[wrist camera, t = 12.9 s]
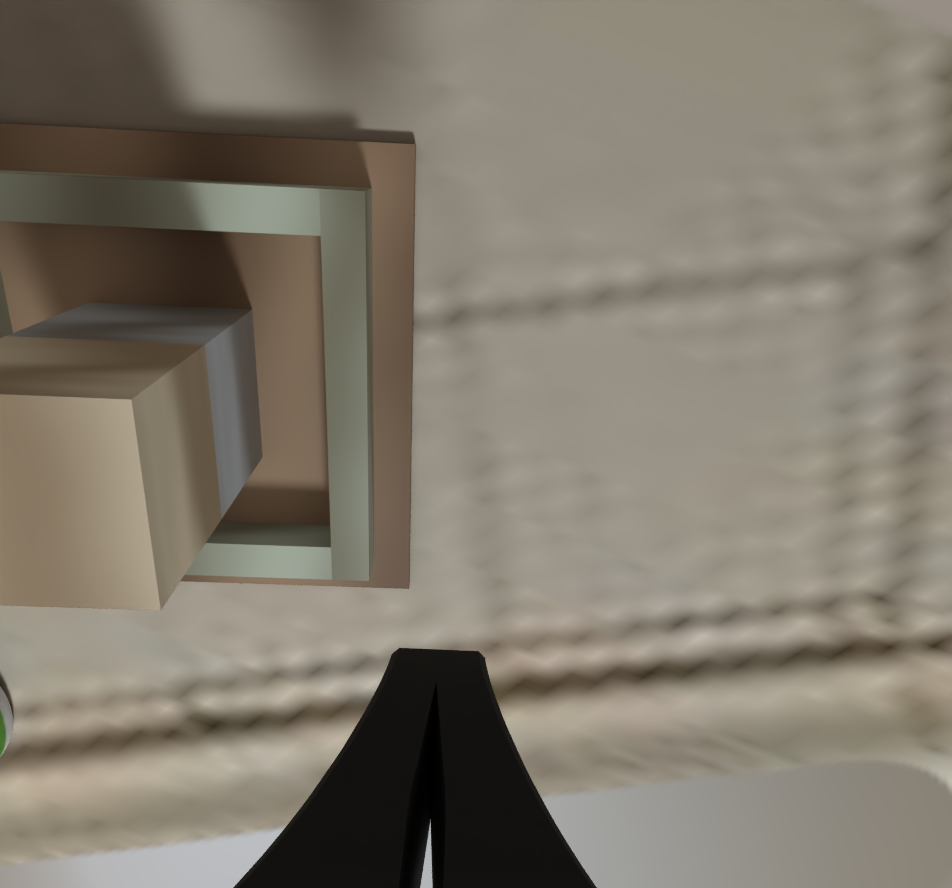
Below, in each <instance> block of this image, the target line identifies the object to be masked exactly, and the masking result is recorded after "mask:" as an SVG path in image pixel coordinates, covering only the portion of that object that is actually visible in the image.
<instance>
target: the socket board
mask: <svg viewBox="0 0 952 888" xmlns="http://www.w3.org/2000/svg"><path fill="white" fill-rule="evenodd" d="M415 159H416V144H400V143H381V142H361V141H341V140H321V139H302V138H282V137H262V136H242V135H223V134H203V133H183V132H163V131H144V130H124V129H104V128H84V127H65V126H45V125H25V124H5V123H0V338H2V337H4V336H7V335H9V334H12V333H14V332H17V331H19V330H22V329H24V328H27V327H29V326H32V325H34V324H37V323H39V322H42V321H44V320H47V319H49V318H52V317H54V316H57V315H59V314H61V313H64V312H66V311H69V310H71V309H74V308H76V307H79V306H81V305H84V304H86V303H89V302H95V303H117V304H140V305H162V306H185V307H207V308H230V309H252V311H253V325H254V340H255V354H256V369H257V383H258V397H259V412H260V426H261V441H262V455H263V457H262V459H261V460H260V462H259V463H258V465H257V466H256V468H255V469H254V471H253V472H252V474H251V475H250V477H249V479H248V480H247V482H246V483H245V485H244V486H243V488H242V489H241V491H240V492H239V494H238V495H237V497H236V498H235V500H234V501H233V503H232V504H231V506H230V507H229V509H228V510H227V512H226V513H225V515H224V516H223V518H222V519H221V521H220V522H219V524H218V525H217V527H216V528H215V530H214V531H213V533H212V534H211V536H210V537H209V539H208V540H207V542H206V543H205V545H204V546H203V548H202V549H201V551H200V552H199V554H198V555H197V557H196V558H195V560H194V561H193V563H192V564H191V566H190V567H189V569H188V570H187V572H186V573H185V575H184V576H183V578H182V579H181V581H193V582H223V583H253V584H283V585H313V586H343V587H374V588H404V589H409V582H410V512H411V441H412V371H413V300H414V230H415Z"/></svg>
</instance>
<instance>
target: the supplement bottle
mask: <svg viewBox="0 0 952 888" xmlns="http://www.w3.org/2000/svg"><path fill="white" fill-rule="evenodd" d="M12 730H13V715H12V710H11V706H10V703H9V701H8V698H7V696H6V694H5V692H4V691H3V689H2V688H1V686H0V757H1V755H2V754H3V752H4V751H5V749H6V748H7V746H8V744H9V741H10V738H11V735H12Z"/></svg>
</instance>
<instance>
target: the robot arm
mask: <svg viewBox="0 0 952 888" xmlns="http://www.w3.org/2000/svg"><path fill="white" fill-rule="evenodd" d="M430 819H431V846H432V879H433V888H597V887H596V886H595V885H594V883H593V882H592V880H591V879H590V877H589V876H588V874H587V873H586V872H585V870H584V869H583V867H582V866H581V864H580V863H579V861H578V859H577V858H576V856H575V855H574V853H573V852H572V850H571V848H570V847H569V845H568V844H567V842H566V840H565V839H564V837H563V835H562V834H561V832H560V830H559V829H558V827H557V826H556V824H555V822H554V820H553V819H552V817H551V815H550V813H549V811H548V810H547V808H546V806H545V804H544V802H543V800H542V799H541V797H540V795H539V793H538V791H537V789H536V787H535V786H534V784H533V782H532V780H531V778H530V776H529V774H528V772H527V770H526V768H525V766H524V764H523V762H522V759H521V757H520V755H519V753H518V751H517V748H516V746H515V744H514V742H513V740H512V737H511V735H510V733H509V731H508V729H507V726H506V724H505V721H504V719H503V716H502V714H501V711H500V708H499V706H498V703H497V700H496V698H495V695H494V692H493V689H492V686H491V682H490V679H489V675H488V671H487V667H486V662H485V658H484V657H483V656H482V654H481V653H480V652H479V651H458V650H434V649H410V648H399V649H398V650H396V651H395V652H394V653H393V654H392V655H391V658H390V661H389V664H388V666H387V669H386V671H385V673H384V676H383V678H382V680H381V682H380V684H379V686H378V688H377V690H376V692H375V694H374V696H373V698H372V699H371V701H370V703H369V705H368V707H367V709H366V711H365V712H364V714H363V716H362V717H361V719H360V721H359V722H358V724H357V726H356V727H355V729H354V731H353V732H352V734H351V735H350V737H349V739H348V740H347V742H346V744H345V745H344V747H343V749H342V750H341V752H340V753H339V755H338V756H337V758H336V759H335V761H334V762H333V763H332V765H331V766H330V768H329V769H328V771H327V772H326V773H325V775H324V776H323V778H322V779H321V781H320V782H319V784H318V785H317V786H316V788H315V789H314V791H313V792H312V794H311V795H310V796H309V798H308V799H307V800H306V802H305V803H304V804H303V806H302V807H301V808H300V810H299V811H298V812H297V814H296V815H295V816H294V817H293V819H292V820H291V821H290V823H289V824H288V825H287V826H286V828H285V829H284V830H283V831H282V833H281V834H280V835H279V836H278V837H277V839H276V840H275V841H274V842H273V843H272V845H271V846H270V847H269V848H268V849H267V851H266V852H265V853H264V854H263V855H262V857H261V858H260V859H259V860H258V861H257V862H256V863H255V864H254V865H253V867H252V868H251V869H250V870H249V871H248V872H247V873H246V874H245V875H244V877H243V878H242V879H241V880H240V881H239V882H238V883H237V884H236V885H235V887H234V888H420V885H421V878H422V872H423V864H424V858H425V852H426V845H427V838H428V831H429V825H430Z"/></svg>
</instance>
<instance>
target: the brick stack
mask: <svg viewBox="0 0 952 888" xmlns="http://www.w3.org/2000/svg"><path fill="white" fill-rule="evenodd" d="M262 457H263V455H262V441H261V426H260V412H259V397H258V383H257V369H256V354H255V340H254V325H253V311H252V309H230V308H207V307H185V306H162V305H140V304H117V303H95V302H89V303H86V304H84V305H81V306H79V307H76V308H74V309H71V310H69V311H66V312H64V313H61V314H59V315H57V316H54V317H52V318H49V319H47V320H44V321H42V322H39V323H37V324H34V325H32V326H29V327H27V328H24V329H22V330H19V331H17V332H14V333H12V334H9V335H7V336H4V337H2V338H0V605H5V606H36V607H67V608H98V609H128V610H159V611H161V609H162V608H163V606H164V605H165V603H166V602H167V600H168V599H169V597H170V596H171V594H172V593H173V591H174V590H175V588H176V587H177V585H178V584H179V582H180V581H181V579H182V578H183V576H184V575H185V573H186V572H187V570H188V569H189V567H190V566H191V564H192V563H193V561H194V560H195V558H196V557H197V555H198V554H199V552H200V551H201V549H202V548H203V546H204V545H205V543H206V542H207V540H208V539H209V537H210V536H211V534H212V533H213V531H214V530H215V528H216V527H217V525H218V524H219V522H220V521H221V519H222V518H223V516H224V515H225V513H226V512H227V510H228V509H229V507H230V506H231V504H232V503H233V501H234V500H235V498H236V497H237V495H238V494H239V492H240V491H241V489H242V488H243V486H244V485H245V483H246V482H247V480H248V479H249V477H250V475H251V474H252V472H253V471H254V469H255V468H256V466H257V465H258V463H259V462H260V460H261V459H262Z"/></svg>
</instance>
